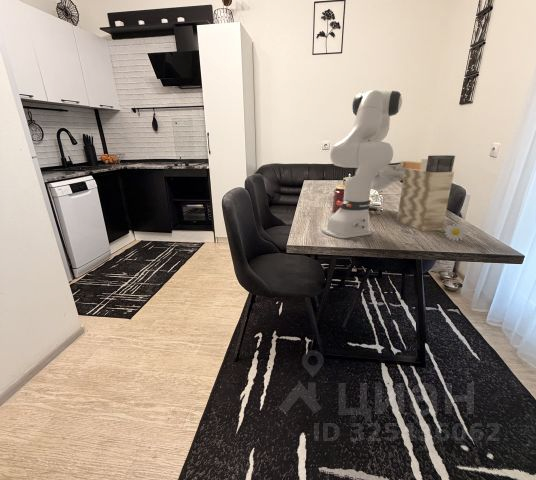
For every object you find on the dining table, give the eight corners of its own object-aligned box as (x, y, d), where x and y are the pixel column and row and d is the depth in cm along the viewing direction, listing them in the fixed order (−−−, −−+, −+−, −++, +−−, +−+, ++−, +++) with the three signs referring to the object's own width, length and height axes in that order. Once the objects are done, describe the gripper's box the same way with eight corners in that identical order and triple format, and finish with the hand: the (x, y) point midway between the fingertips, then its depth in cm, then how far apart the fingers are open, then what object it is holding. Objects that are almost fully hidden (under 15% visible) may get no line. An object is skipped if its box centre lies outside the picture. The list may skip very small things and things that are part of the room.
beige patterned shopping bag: (397, 220, 145) (406, 154, 134) (414, 219, 146) (425, 153, 136) (423, 231, 127) (436, 156, 116) (442, 229, 129) (457, 155, 118)
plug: (397, 167, 144) (399, 157, 142) (408, 166, 145) (409, 156, 143) (432, 171, 121) (434, 159, 120) (444, 171, 123) (446, 159, 121)
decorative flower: (435, 215, 125) (468, 224, 112) (441, 224, 128) (473, 233, 115) (424, 229, 125) (455, 239, 112) (430, 236, 128) (461, 247, 115)
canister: (350, 208, 171) (352, 179, 165) (358, 214, 158) (361, 182, 153) (329, 209, 170) (331, 180, 164) (335, 214, 158) (337, 183, 152)
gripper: (373, 170, 153) (388, 158, 139) (406, 169, 156) (424, 157, 143) (375, 181, 152) (390, 170, 138) (409, 179, 155) (426, 168, 142)
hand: (407, 163), depth 141 cm, fingers closed on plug, 3 cm apart
